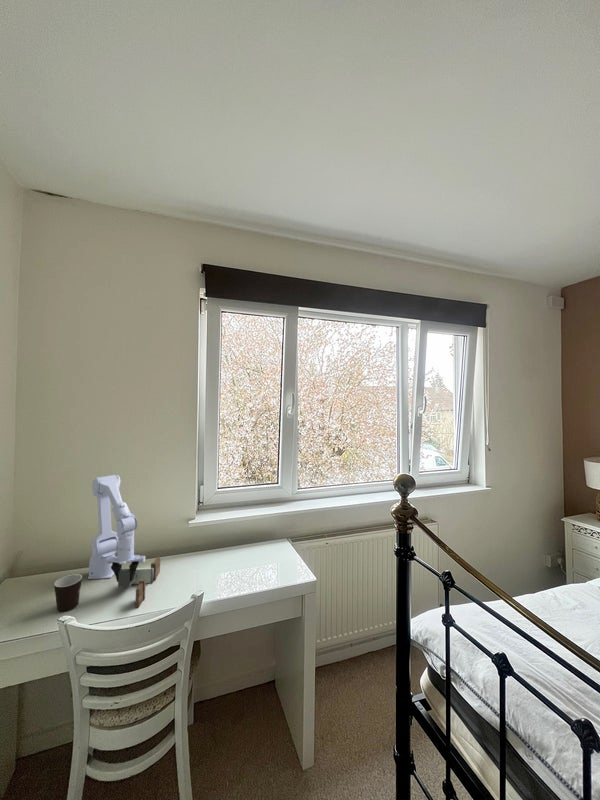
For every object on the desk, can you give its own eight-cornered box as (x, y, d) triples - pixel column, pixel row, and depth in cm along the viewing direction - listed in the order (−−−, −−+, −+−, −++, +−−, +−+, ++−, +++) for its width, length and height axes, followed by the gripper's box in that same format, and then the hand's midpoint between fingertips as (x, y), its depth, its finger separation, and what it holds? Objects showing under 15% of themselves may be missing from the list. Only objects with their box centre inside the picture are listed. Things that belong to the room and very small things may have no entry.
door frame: (134, 607, 121) (134, 587, 121) (156, 571, 146) (156, 555, 146) (139, 607, 121) (140, 587, 121) (160, 571, 146) (161, 555, 146)
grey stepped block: (129, 586, 129) (130, 571, 129) (117, 587, 128) (118, 571, 129) (136, 578, 136) (136, 563, 136) (125, 578, 135) (125, 564, 136)
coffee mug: (72, 614, 117) (73, 586, 117) (47, 614, 116) (48, 587, 116) (90, 594, 128) (91, 569, 128) (68, 595, 128) (68, 570, 128)
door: (153, 581, 138) (153, 567, 138) (152, 582, 137) (153, 568, 137) (126, 582, 137) (126, 568, 137) (125, 584, 136) (125, 569, 136)
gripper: (102, 552, 125) (101, 586, 125) (141, 550, 127) (140, 584, 127) (110, 544, 132) (110, 576, 132) (147, 543, 134) (146, 575, 134)
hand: (125, 580), depth 130 cm, fingers closed on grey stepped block, 4 cm apart
